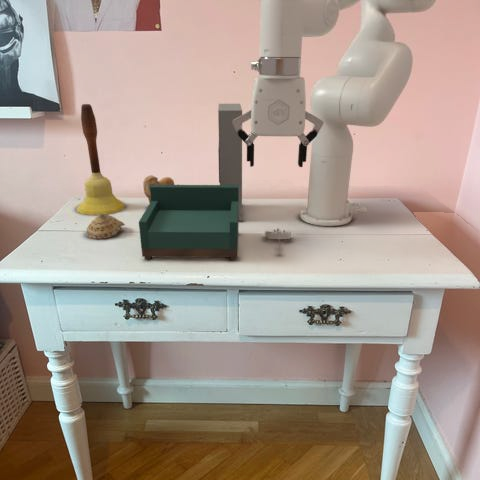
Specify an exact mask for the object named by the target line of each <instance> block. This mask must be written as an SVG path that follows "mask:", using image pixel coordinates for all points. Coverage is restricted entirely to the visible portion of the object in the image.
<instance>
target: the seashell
mask: <svg viewBox="0 0 480 480" xmlns="http://www.w3.org/2000/svg"><path fill="white" fill-rule="evenodd" d="M125 225H126V224H125V223H124V222H123V221H121V220H119V219H117V218H116V217H114V216H113V215H110V214H101V215H96V217H94V219H92V221H91V222H90V223H89V225H88V226H87V227H86V231H85V233H86V236H87V237H88V238H90V239H95V240H101V239H106V238H107V239H108V238H111V237H112V236H115V235H116V234H118V233H119V232H120V231H121V228H122V227H124V226H125Z"/></svg>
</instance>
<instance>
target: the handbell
mask: <svg viewBox="0 0 480 480" xmlns="http://www.w3.org/2000/svg"><path fill="white" fill-rule="evenodd" d="M80 107H81V108H80V109H81V110H80V112H81V113H80V120H81V129H82V134H83V136H84V138H85V140H86V145H87V149H88V150H87V151H88V157H89V165H90V170H91V174H90V177H89V178H87V179H86V180H85V181H84V190H85V191H84V192H85V197H84V199H83V201H82V202H81V203H80V204H79V205H77V208H76V211H77V212H78V213H80V214H82V215H88V216H99V215H101V214H105V215H110V214H115V213H118V212H121V211H123V210H124V209H125V208H126V205H125V203H124V202H123V201H122V200H120V199H118V198H117V196H115V194H113V187H112V183H111V181H110V179H108V178H107V177H105V176H104V175H103V174H102V173H101V167H100V166H101V165H100V159H99V153H98V146H97V137H98V127H97V119H96V115H95V113H94V110H93V107H92V105H91V104H90V103H83V104H81V106H80Z"/></svg>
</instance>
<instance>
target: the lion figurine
mask: <svg viewBox="0 0 480 480" xmlns="http://www.w3.org/2000/svg"><path fill="white" fill-rule="evenodd" d="M142 183H143V184H142V187H143V192H144V195H145V197H146V198H147V199H148V203H149V204H150V202H151V194H150V186H151V185H175V182H174V179H173V178H172V177H170V176H165V177H163V178H161V179H160V180H158V177H156V176H155V175H147V176H145V178H144V180H143V182H142Z"/></svg>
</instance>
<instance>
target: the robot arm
mask: <svg viewBox="0 0 480 480" xmlns="http://www.w3.org/2000/svg"><path fill="white" fill-rule="evenodd" d="M436 1H437V0H260V5H259V6H260V7H259V54H258V55H259V58H258V59H257V60H255V61H251V62H250V63H251V65H250V66H251V67H250V68H251V69H250V70H251V71H257V73H258V76H256V77H254V81H253V86H252V93H251V109H250V110H248V111H247V112H245V113H242V115H241V116H239V117H237V118H236V119H234V120H233V122H232V123H233V126H234V128H235V130H236V132H237V134H238V136H239V137H240V138H241V139H242V142H244V143H245V145H246V162H249V167H251V168H252V167H254V166H255V143H254V141H255V140H256V139H257V137H258V136H259V137H297V138H298V140H299V141H300V142H299V144H298V153H297V154H298V155H297V165H298V167H299V168H303V165H304V163H306V162H307V157H308V155H307V154H308V146H309V145H310V143H311V148H310V160H309V161H310V162H309V176H308V191H307V203H306V208H304V209H302V210H301V211H300V214H299V217H300V219H301V220H302V221H303V222H305V223H307V224H311V225H315V226H320V227H321V226H322V227H338V226H344V225H347V224H349V223H350V222H351V221H352V218H353V213H358V214H366V212H367V205H366V204H360V203H359V202H350V201H349V199H348V198H349V197H348V196H349V189H350V188H349V187H350V179H351V173H352V172H351V170H352V161H353V153H354V140H353V136H352V134H351V130H350V128H349V127H348V126H357V127H365V128H367V127H369V128H373V127H377V126H379V125H382V123H383V122H385V120H386V118H387V117H388V115H389V114H390V113H391V111H392V110H393V107H394V106H395V104H396V103H397V101H398V99H399V98H400V96H401V95H402V93H403V91H404V89H405V88H406V86H407V84H408V82H409V79H410V76H411V73H412V70H413V63H414V62H413V61H414V58H413V52H412V50H411V48H410V47H409V46H408V45H407V44H406V43H404V42H402V41H401V42H400V41H396V33H395V30H394V27H393V25H392V23H391V21H390V20H389V18H388V17H387V14H409V13H411V14H412V13H413V14H415V13H422V12H423V13H424V12H427V11H428V10H429V9H431V8H432V7H433V6H434V5H435V3H436ZM359 2H360V29H359V31H358V32H357V34H356V36H355V37H354V39H353V40H352V42H351V43H350V45H349V46H348V48H347V49H346V51H345V52H344V54H343V55H342V57H341V58H340V61H339V63H338V67H337V71H336V73H337V74H336V75H327V76H324V77H322V78H320V79H318V80H317V81H316V83H315V84H314V85H313V86H312V89H311V92H310V97H309V98H310V99H309V100H310V101H309V102H310V103H309V104H310V105H309V106H310V112H309V111H307V110H306V109H307V107H306V105H307V104H306V101H307V100H306V96H307V95H306V81H305V77H303V76H301V68H302V48H303V38H318V37H322V36H323V37H324V36H325V35H327V34H329V33H330V32H332V30H333V29H334V28H335V26H336V25H337V22H338V20H339V16H340V11H343V10H347V9H350V8H352V7H354V6H355V5H357V4H358V3H359ZM249 120H250V132H249V134H247V132H246V131H245V130H244V129H243V124H244V123H245V122H247V121H249ZM306 121H308V122H309V123H311V130H310V131H309V132H308V133H307V134H305V127H306ZM241 124H242V126H241Z"/></svg>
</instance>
